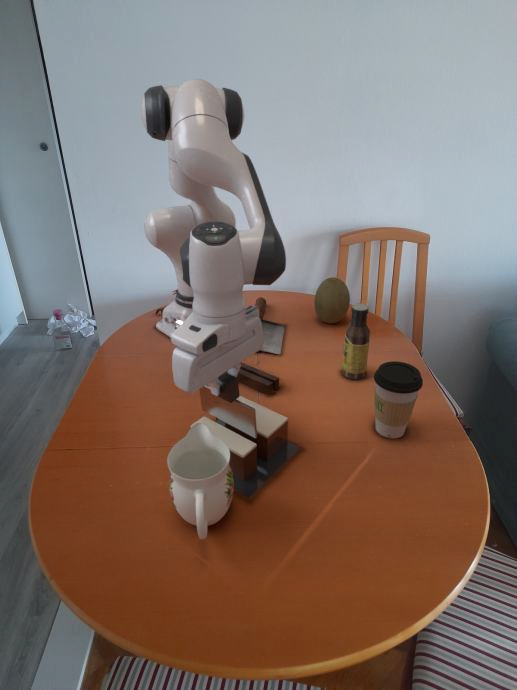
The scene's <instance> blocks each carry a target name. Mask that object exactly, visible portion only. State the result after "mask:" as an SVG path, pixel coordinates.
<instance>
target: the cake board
mask: <svg viewBox="0 0 517 690" xmlns="http://www.w3.org/2000/svg"><path fill="white" fill-rule="evenodd" d="M239 396H240V397H239V398H237V399H236V400H238V401H241V402H243V403H245V404H247V405H249V406H251V407H253V408H255V412H256V426H257V438H254V437H252V436H250V435H248V434H246V433H244V432H243V431H241V430H239V429H237V428H235V427H233V426H231V425H229V424H228V423H226V422H224V421H222V420H220V419H218V418H216V417H215V422H216V423H218V424H220V425H222V426H224V427H225V428H227V429H229V430H231V431H233V432H235V433H237V434H239V435H240V436H242V437H244V438H246V439H248V440H250V441H252V442H254V443H255V444H257V470H256V471H255V472H254V473H253V474H252V475H251V476H250V477H249V478H248V479H247V480H245V481H242V480H241V479H239V478H237V477H236V476H234V475H233V478H234V490H235V491H236V492H238V493H240V494H242V495H243V496H244V497H246V498H248V499H250V498H252V496H253V495H254V494H255V493H256V492H257V491H258V490H259V489H260V488H261V487H262V486H263V485H264V484H265V483H266V482H267V481H268V480H269V479H271V478H272V476H273V475H274V474H276V473H277V472H278V471H279V470H280V469H281V468H282V467H283V466H284V465H285V464H286V463H287V462H288V461H289V460H290V459H291V458H292V457H293V456H295V454H296V453H297V452H298V451H299V450H300V449H301V446H299V445H297V444H295V443H292V442H290V441H289V440H288V436H289V417H287V416H284V415H282V414H280V413H278V412H276V411H273V410H272V409H270V408H268V407H265V406H264V405H261V404H259V403H257V402H254V401H253V400H250V399H248V398H245V397H244V396H241V394H239Z"/></svg>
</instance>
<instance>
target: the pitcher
mask: <svg viewBox="0 0 517 690" xmlns="http://www.w3.org/2000/svg"><path fill="white" fill-rule="evenodd" d="M193 424H194V423H193ZM229 462H230V450H229V448H228V446H227V445H226V443H225V442H224V441H223V440H221V439H220V438H218V437H216V436H215V435H213V434H212V433H211V431H210V430H209V428H208V427H207V426H206V425H205V424H203V423H196V424H194V425H193V426H192V427H191V429H190V428H189V430H188V432H187V433H186V435H185V436H184V437H183V438H181V439H180V440H179V441H177V442H176V443H175V444H174V445H173V446H172V448H170V451H169V452H168V455H167V462H166V463H167V467H168V469H169V472H170V474H169V480H168V489H169V495H170V499H171V501H172V504H173V506H174V508H175V509H176V510H175V511H176V512H177V513H178V514H179V515H180V517H181V518H182V519H183V520H184V521H185V522H187V523H188V524H190V525H192V526H195V527H196V531H197V535H198V536H197V537H198V539H199V540H206V539H207V538H208V527H209V526H212V525H215V524H216V523H218V522H220V521H221V519H222V518H223V517H224V516H225V515H226V514H227V512H228V510H229V508H230V506H231V503H232V500H233V497H234V490H235V489H234V478H233V473H232V469H231V467H230V465H229Z"/></svg>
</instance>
